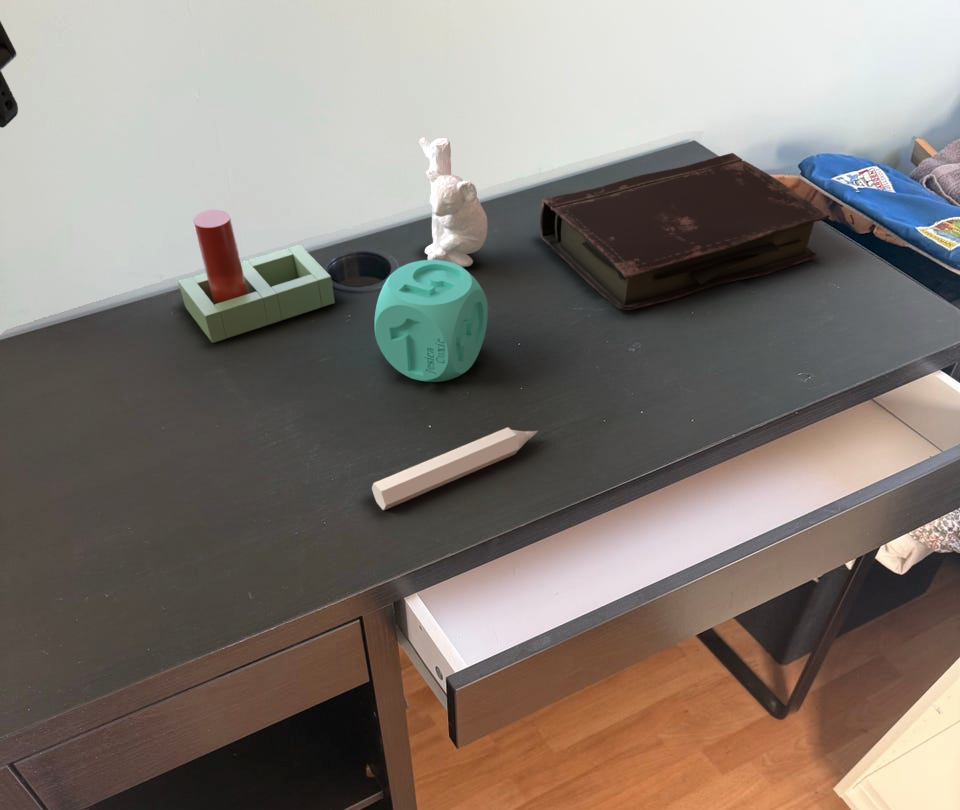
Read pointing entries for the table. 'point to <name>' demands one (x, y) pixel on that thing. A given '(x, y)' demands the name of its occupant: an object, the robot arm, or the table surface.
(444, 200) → the koala figurine
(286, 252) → the two-slot green holder
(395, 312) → the decorative dice
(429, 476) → the unpainted wooden pencil
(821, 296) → the table surface
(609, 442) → the table surface
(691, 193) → the diary
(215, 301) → the peg
